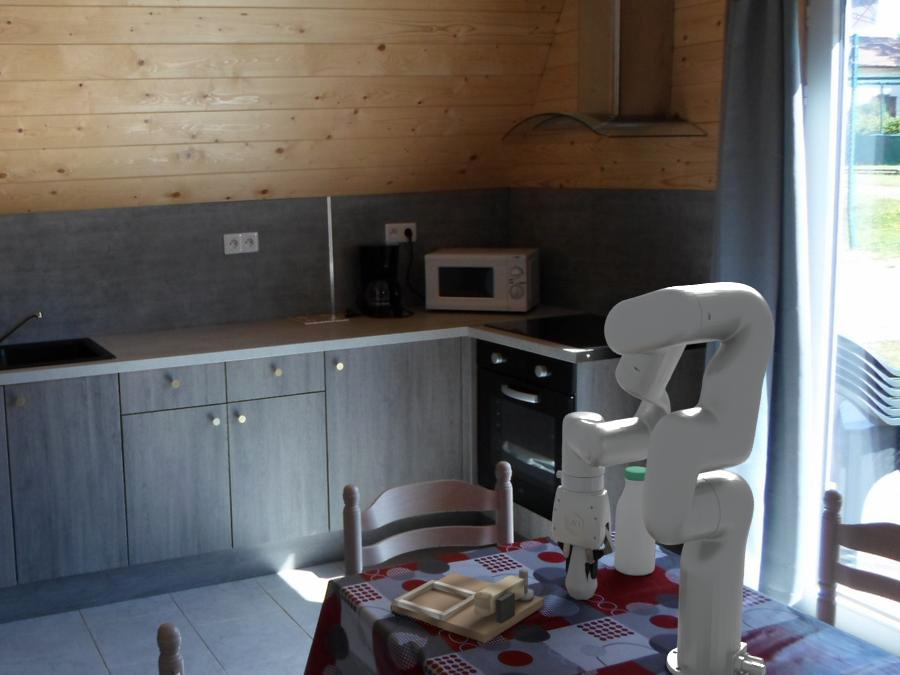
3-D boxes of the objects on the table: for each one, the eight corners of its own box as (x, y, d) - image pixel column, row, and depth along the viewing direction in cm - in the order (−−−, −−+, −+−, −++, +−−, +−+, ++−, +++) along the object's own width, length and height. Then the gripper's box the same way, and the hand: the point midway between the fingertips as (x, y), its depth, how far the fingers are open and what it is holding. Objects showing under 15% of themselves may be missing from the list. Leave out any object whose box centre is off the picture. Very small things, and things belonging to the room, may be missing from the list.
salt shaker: (562, 599, 191) (563, 530, 189) (568, 587, 196) (569, 520, 194) (594, 603, 189) (595, 533, 187) (599, 591, 195) (601, 523, 192)
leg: (509, 591, 187) (510, 575, 187) (524, 595, 185) (524, 579, 185) (470, 613, 178) (470, 596, 178) (485, 617, 176) (485, 600, 176)
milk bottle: (654, 578, 200) (657, 476, 197) (613, 575, 202) (615, 473, 199) (655, 563, 208) (657, 464, 205) (615, 560, 209) (617, 462, 206)
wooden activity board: (543, 606, 188) (544, 571, 187) (485, 642, 174) (485, 605, 173) (453, 579, 200) (453, 547, 199) (391, 612, 186) (391, 577, 185)
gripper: (532, 478, 191) (532, 575, 194) (613, 495, 181) (611, 597, 184) (554, 469, 197) (553, 563, 200) (634, 484, 187) (631, 583, 190)
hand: (581, 578), depth 192 cm, fingers closed on salt shaker, 3 cm apart
